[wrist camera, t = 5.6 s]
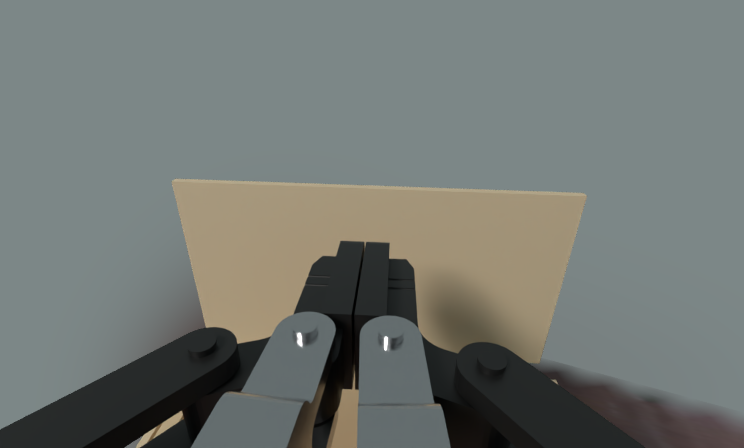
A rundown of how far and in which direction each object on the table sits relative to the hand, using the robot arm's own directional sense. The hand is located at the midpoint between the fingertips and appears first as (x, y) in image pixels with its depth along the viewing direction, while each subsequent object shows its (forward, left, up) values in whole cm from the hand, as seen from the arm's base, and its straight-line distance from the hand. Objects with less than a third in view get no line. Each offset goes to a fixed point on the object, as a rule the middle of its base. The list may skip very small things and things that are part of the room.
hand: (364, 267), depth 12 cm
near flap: (0, -4, -3) cm, 5 cm away
